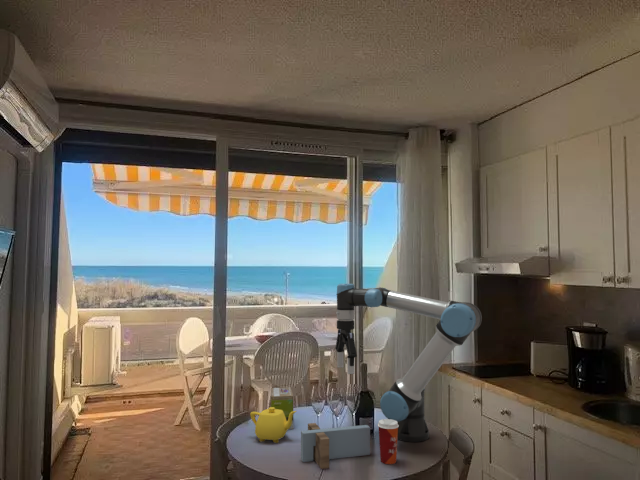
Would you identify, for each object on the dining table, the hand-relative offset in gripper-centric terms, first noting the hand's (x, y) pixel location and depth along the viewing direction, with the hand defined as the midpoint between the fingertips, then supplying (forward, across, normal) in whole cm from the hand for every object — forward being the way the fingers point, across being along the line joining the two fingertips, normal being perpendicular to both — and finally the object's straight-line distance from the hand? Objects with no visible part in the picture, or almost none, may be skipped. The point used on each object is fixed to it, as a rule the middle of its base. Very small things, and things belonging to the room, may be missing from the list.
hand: (345, 370), depth 199 cm
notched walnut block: (+27, +21, -18) cm, 38 cm away
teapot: (+27, -4, -30) cm, 41 cm away
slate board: (+27, +21, -11) cm, 36 cm away
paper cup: (+27, +30, +6) cm, 41 cm away
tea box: (+27, -21, -23) cm, 41 cm away
